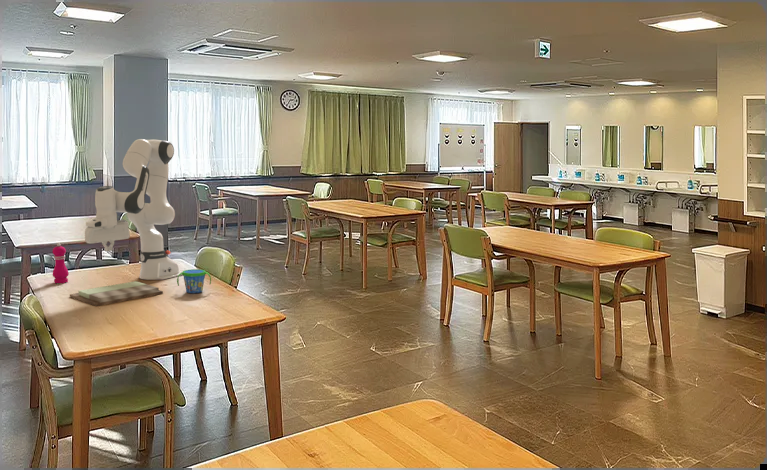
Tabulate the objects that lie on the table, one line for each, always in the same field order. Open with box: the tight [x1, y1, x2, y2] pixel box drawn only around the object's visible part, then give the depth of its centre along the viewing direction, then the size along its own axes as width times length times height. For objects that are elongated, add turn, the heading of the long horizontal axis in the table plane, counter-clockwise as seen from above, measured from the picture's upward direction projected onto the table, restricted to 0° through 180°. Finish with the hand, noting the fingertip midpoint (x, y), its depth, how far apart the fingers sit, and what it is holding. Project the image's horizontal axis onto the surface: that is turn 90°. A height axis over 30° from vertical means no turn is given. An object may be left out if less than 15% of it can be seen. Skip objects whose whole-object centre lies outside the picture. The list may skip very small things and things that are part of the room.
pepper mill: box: [52, 242, 69, 284], centre depth 328 cm, size 7×7×20 cm
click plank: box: [77, 280, 148, 298], centre depth 305 cm, size 28×10×2 cm, turn 140°
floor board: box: [69, 284, 164, 307], centre depth 303 cm, size 32×25×3 cm
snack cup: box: [176, 268, 212, 294], centre depth 310 cm, size 16×10×10 cm
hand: (108, 250), depth 305 cm, fingers closed
